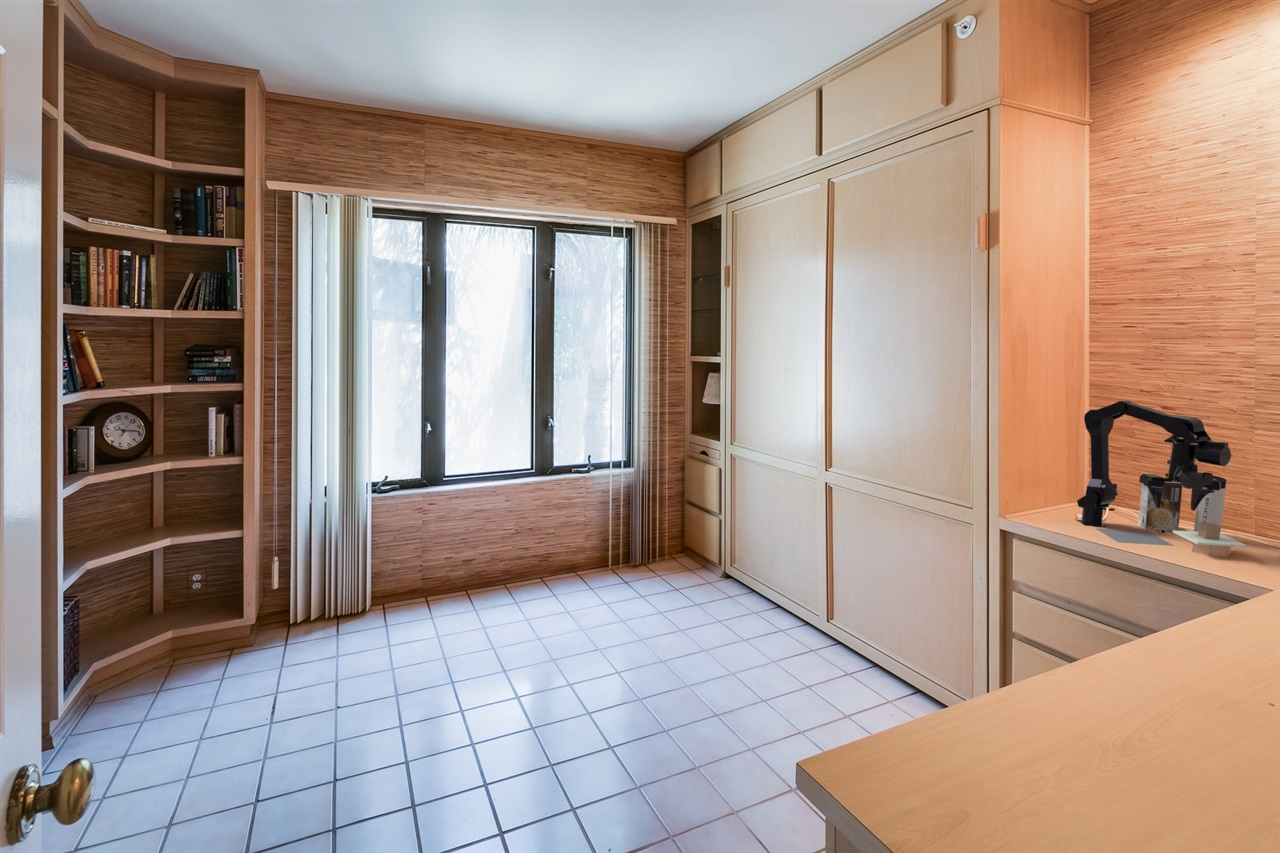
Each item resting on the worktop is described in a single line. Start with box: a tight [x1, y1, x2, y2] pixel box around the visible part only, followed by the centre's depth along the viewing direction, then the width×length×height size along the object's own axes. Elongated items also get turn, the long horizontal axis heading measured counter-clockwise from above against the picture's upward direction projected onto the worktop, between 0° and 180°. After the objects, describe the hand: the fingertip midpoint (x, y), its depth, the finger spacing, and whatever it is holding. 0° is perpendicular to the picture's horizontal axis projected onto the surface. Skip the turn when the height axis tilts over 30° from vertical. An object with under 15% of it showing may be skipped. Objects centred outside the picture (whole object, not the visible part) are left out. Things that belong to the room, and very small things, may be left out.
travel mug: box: [1193, 475, 1227, 533], centre depth 201 cm, size 6×7×20 cm
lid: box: [1172, 522, 1248, 548], centre depth 187 cm, size 12×12×5 cm
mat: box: [1096, 528, 1175, 547], centre depth 202 cm, size 15×15×1 cm
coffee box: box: [1137, 483, 1183, 532], centre depth 210 cm, size 9×6×16 cm
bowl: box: [1184, 538, 1232, 558], centre depth 188 cm, size 10×10×4 cm
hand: (1175, 509), depth 193 cm, fingers open, 9 cm apart
